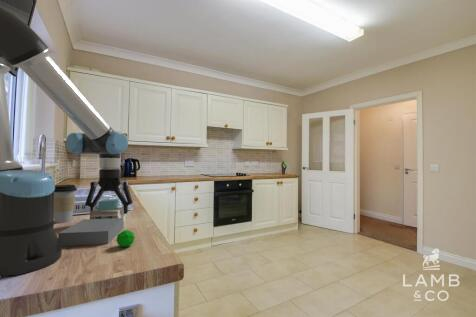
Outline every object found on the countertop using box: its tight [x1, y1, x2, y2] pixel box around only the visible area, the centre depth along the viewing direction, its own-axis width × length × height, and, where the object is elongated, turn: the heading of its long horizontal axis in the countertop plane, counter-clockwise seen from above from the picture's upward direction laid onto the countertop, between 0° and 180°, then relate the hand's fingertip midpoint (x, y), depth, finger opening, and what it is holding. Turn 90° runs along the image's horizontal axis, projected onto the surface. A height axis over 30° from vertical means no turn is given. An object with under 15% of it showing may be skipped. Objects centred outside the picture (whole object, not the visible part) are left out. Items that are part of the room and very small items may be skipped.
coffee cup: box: [54, 184, 78, 224], centre depth 98 cm, size 9×9×15 cm
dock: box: [57, 218, 125, 247], centre depth 80 cm, size 16×14×4 cm
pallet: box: [89, 204, 127, 220], centre depth 96 cm, size 12×10×6 cm
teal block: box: [98, 198, 121, 210], centre depth 96 cm, size 6×6×4 cm
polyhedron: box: [116, 229, 136, 248], centre depth 71 cm, size 5×5×5 cm
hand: (109, 222), depth 96 cm, fingers closed on pallet, 10 cm apart
